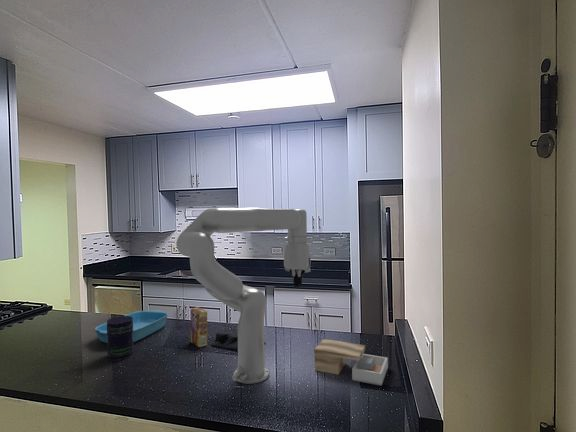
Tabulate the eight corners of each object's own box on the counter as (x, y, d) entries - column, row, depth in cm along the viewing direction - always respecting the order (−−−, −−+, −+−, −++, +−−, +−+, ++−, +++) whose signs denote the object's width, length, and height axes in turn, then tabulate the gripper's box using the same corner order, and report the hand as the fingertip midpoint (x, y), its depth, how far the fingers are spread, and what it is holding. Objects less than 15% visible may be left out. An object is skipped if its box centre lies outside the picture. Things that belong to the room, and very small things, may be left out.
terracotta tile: (364, 369, 123) (364, 374, 123) (379, 371, 121) (379, 377, 121) (367, 363, 127) (367, 368, 127) (381, 366, 125) (381, 371, 125)
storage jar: (123, 361, 137) (122, 324, 137) (101, 359, 139) (100, 322, 139) (138, 351, 147) (138, 316, 147) (118, 349, 149) (117, 315, 149)
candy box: (208, 345, 153) (207, 311, 153) (199, 347, 150) (198, 312, 150) (199, 339, 160) (199, 306, 160) (190, 342, 157) (190, 308, 157)
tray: (381, 385, 116) (381, 374, 116) (352, 380, 120) (352, 368, 120) (387, 368, 129) (387, 357, 129) (361, 363, 133) (360, 353, 133)
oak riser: (358, 379, 121) (358, 356, 121) (314, 370, 128) (314, 349, 127) (365, 366, 131) (365, 345, 131) (323, 358, 138) (323, 339, 137)
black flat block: (247, 356, 142) (247, 345, 142) (208, 346, 153) (207, 335, 153) (268, 344, 155) (268, 333, 155) (230, 335, 166) (230, 325, 166)
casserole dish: (140, 320, 189) (139, 307, 189) (175, 323, 183) (175, 310, 183) (84, 346, 154) (84, 330, 154) (126, 351, 148) (126, 334, 148)
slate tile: (357, 363, 124) (358, 369, 124) (371, 363, 122) (372, 369, 122) (360, 358, 128) (361, 363, 128) (373, 357, 126) (374, 363, 126)
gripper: (276, 240, 137) (276, 286, 138) (311, 241, 131) (312, 289, 131) (284, 239, 144) (284, 282, 144) (318, 240, 138) (318, 285, 138)
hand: (297, 286), depth 138 cm, fingers closed
